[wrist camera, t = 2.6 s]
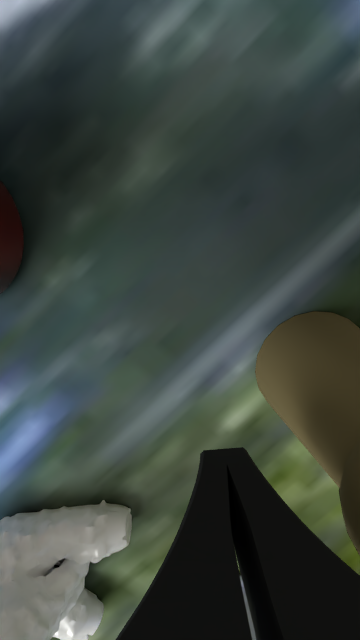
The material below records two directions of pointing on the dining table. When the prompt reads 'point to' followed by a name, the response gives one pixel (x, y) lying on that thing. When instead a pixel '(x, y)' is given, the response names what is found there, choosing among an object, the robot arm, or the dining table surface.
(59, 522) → the sitting furry creature
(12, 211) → the soda can
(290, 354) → the pepper shaker
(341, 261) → the dining table surface
